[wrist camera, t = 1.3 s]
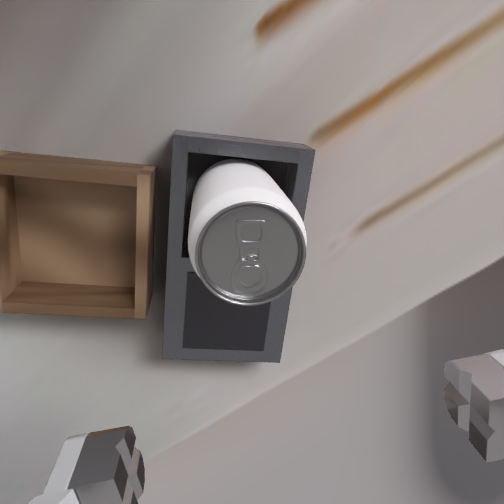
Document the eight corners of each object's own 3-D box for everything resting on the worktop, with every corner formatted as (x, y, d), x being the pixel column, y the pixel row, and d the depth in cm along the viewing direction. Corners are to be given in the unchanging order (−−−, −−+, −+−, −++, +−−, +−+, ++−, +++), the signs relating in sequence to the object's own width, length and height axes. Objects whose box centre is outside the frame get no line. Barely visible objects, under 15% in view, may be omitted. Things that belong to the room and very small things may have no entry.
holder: (1, 150, 28) (-29, 158, 25) (156, 166, 30) (150, 175, 26) (14, 287, 32) (-10, 311, 28) (152, 295, 34) (145, 319, 30)
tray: (176, 129, 29) (172, 134, 26) (303, 144, 30) (315, 150, 27) (166, 334, 35) (162, 359, 32) (273, 338, 36) (280, 363, 33)
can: (193, 239, 32) (188, 315, 21) (191, 156, 30) (183, 192, 19) (274, 238, 33) (310, 311, 22) (277, 157, 31) (319, 192, 20)
